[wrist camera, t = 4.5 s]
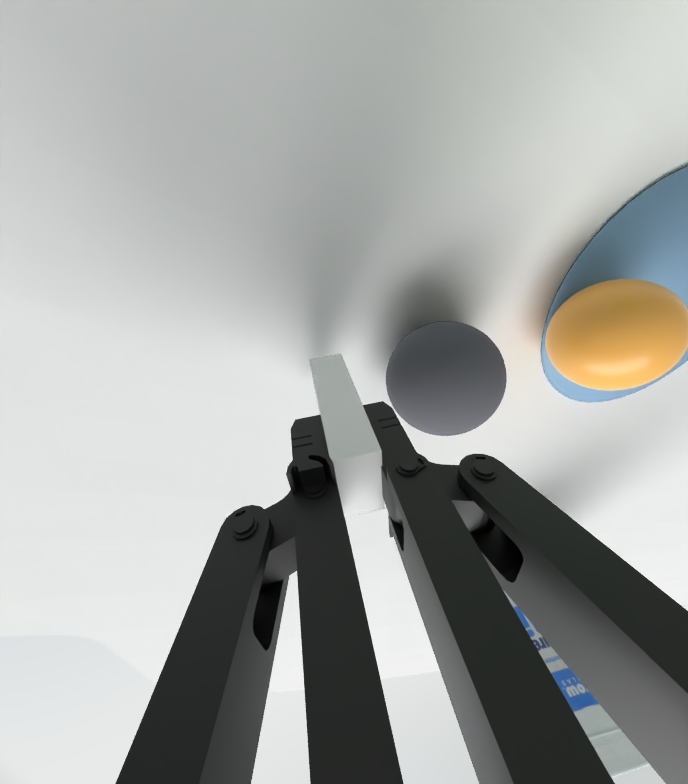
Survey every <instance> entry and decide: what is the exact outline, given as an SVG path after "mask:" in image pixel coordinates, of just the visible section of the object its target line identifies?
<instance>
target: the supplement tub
mask: <svg viewBox="0 0 688 784" xmlns="http://www.w3.org/2000/svg"><path fill="white" fill-rule="evenodd" d="M503 591H504V590H503ZM504 592H505V591H504ZM505 594H506V596H507V598H508V599H509V601H510V603H511V605H512V606H513V608H514V610H515V612H516V613H517V615H518V617H519V618H520V620H521V622H522V624H523V625H524V627H525V629H526V631H527V632H528V634H529V636H530V638H531V639H532V641H533V643H534V645H535V646H536V648H537V650H538V651H539V653H540V655H541V657H542V658H543V660H544V662H545V664H546V665H547V667H548V669H549V671H550V672H551V674H552V676H553V677H554V679H555V681H556V683H557V684H558V686H559V688H560V690H561V691H562V693H563V695H564V697H565V698H566V700H567V702H568V703H569V705H570V707H571V709H572V710H573V712H574V714H575V716H576V717H577V719H578V721H579V723H580V724H581V726H582V728H583V729H584V731H585V733H586V735H587V736H588V738H589V740H590V742H591V743H592V745H593V747H594V749H595V750H596V752H597V754H598V756H599V757H600V759H601V761H602V762H603V764H604V766H605V768H606V769H607V771H608V773H609V775H610V776H611V778H613V777H616V776H619V775H622V774H625V773H628V772H631V771H634V770H637V769H640V768H643V767H646V766H649V765H650V764H649V763H648V761H647V760H646V759H645V758H644V757H643V755H642V754H641V753H640V752H639V751H638V750H637V748H636V747H635V746H634V745H633V744H632V742H631V741H630V740H629V739H628V738H627V736H626V735H625V734H624V733H623V732H622V730H621V729H620V728H619V727H618V726H617V724H616V723H615V722H614V721H613V720H612V719H611V717H610V716H609V715H608V714H607V713H606V711H605V710H604V709H603V708H602V707H601V705H600V704H599V703H598V702H597V701H596V699H595V698H594V697H593V696H592V695H591V694H590V692H589V691H588V690H587V689H586V688H585V686H584V685H583V684H582V683H581V682H580V680H579V679H578V678H577V677H576V676H575V674H574V673H573V672H572V671H571V670H570V668H569V667H568V666H567V665H566V664H565V663H564V661H563V660H562V659H561V658H560V657H559V655H558V654H557V653H556V652H555V651H554V649H553V648H552V647H551V646H550V645H549V643H548V642H547V641H546V640H545V639H544V638H543V636H542V635H541V634H540V633H539V632H538V630H537V629H536V628H535V627H534V626H533V624H532V623H531V622H530V621H529V620H528V618H527V617H526V616H525V615H524V614H523V612H522V611H521V610H520V609H519V608H518V607H517V605H516V604H515V603H514V602H513V601H512V599H511V598H510V597H509V596H508V595H507V593H506V592H505Z"/></svg>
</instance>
